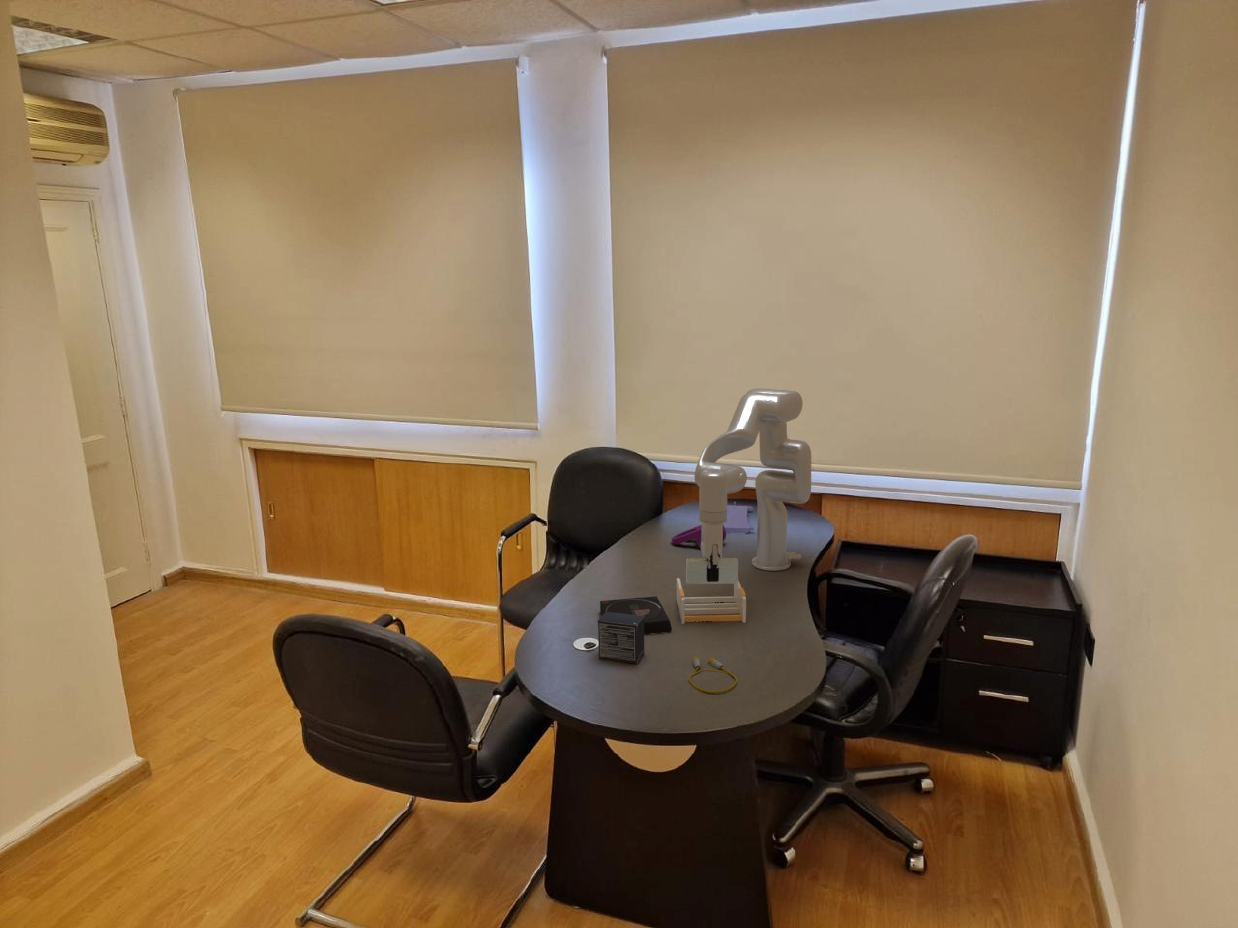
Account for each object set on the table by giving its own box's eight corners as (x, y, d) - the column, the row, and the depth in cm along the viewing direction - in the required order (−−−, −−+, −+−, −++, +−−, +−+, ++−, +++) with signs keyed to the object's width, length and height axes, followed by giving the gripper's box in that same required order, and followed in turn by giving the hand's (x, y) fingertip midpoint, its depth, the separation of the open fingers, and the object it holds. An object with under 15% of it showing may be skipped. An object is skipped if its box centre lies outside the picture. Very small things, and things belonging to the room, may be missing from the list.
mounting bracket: (677, 563, 283) (722, 548, 275) (667, 541, 283) (711, 525, 274) (686, 554, 291) (730, 539, 283) (676, 533, 291) (720, 517, 283)
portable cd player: (672, 633, 216) (672, 619, 215) (609, 639, 214) (609, 625, 213) (658, 609, 232) (658, 596, 231) (600, 613, 229) (600, 600, 228)
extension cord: (742, 666, 198) (742, 659, 197) (733, 698, 183) (733, 690, 183) (693, 660, 201) (693, 653, 201) (680, 692, 186) (680, 684, 186)
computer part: (752, 511, 323) (715, 510, 325) (752, 501, 322) (715, 500, 324) (753, 535, 294) (712, 534, 297) (754, 524, 293) (713, 523, 296)
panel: (736, 580, 224) (736, 557, 222) (737, 583, 221) (738, 561, 220) (685, 580, 223) (686, 558, 222) (686, 584, 221) (687, 561, 219)
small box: (645, 653, 205) (645, 614, 202) (638, 664, 199) (637, 625, 196) (606, 647, 208) (605, 609, 206) (597, 658, 202) (596, 620, 200)
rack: (736, 599, 237) (737, 575, 235) (746, 622, 221) (746, 596, 219) (676, 600, 236) (676, 576, 235) (681, 623, 221) (681, 598, 219)
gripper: (695, 507, 226) (695, 569, 230) (702, 524, 210) (701, 590, 214) (722, 506, 226) (721, 568, 230) (731, 523, 210) (729, 590, 214)
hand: (712, 578), depth 222 cm, fingers closed on panel, 2 cm apart
